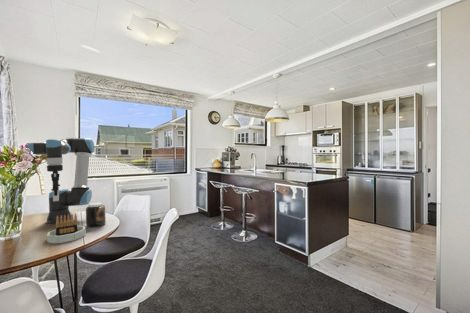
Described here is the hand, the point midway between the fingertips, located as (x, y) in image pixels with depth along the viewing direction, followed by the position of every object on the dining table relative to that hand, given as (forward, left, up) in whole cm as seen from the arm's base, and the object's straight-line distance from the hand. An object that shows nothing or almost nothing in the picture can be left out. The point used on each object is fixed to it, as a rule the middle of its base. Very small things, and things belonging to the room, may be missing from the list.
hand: (56, 198), depth 139 cm
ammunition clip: (+7, +5, -21) cm, 23 cm away
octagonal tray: (+7, +5, -23) cm, 24 cm away
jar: (-10, +21, -23) cm, 33 cm away
